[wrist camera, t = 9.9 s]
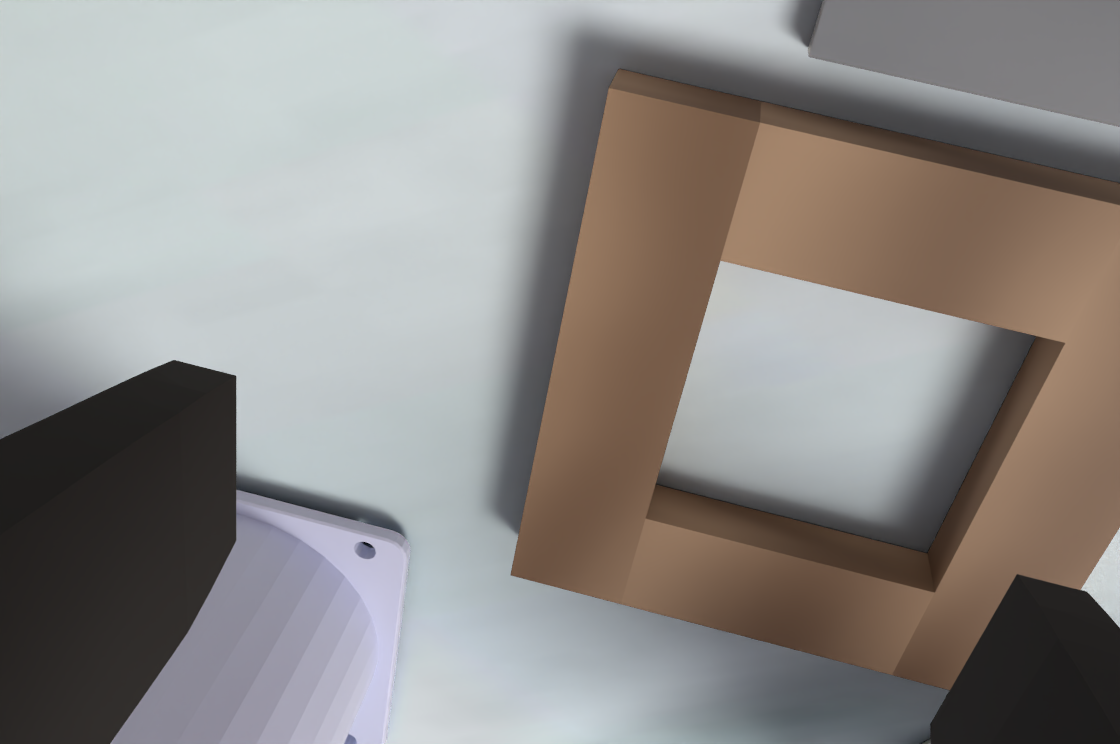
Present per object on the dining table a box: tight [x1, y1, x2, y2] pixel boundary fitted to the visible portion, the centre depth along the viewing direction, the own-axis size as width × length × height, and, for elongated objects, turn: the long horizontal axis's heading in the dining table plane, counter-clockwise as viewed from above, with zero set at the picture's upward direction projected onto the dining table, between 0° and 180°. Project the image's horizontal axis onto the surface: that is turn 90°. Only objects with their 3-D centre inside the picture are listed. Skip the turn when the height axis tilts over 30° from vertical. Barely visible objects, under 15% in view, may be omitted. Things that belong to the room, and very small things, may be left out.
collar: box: [511, 69, 1120, 690], centre depth 20 cm, size 11×11×1 cm
